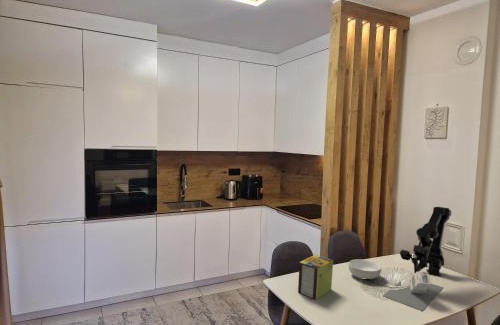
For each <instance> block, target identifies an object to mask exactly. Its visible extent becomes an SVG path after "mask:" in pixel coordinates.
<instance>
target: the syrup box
mask: <svg viewBox="0 0 500 325" xmlns="http://www.w3.org/2000/svg"><path fill="white" fill-rule="evenodd" d="M411 277H412V279H411V280H410V282H409V283H410V291H411V293H418V294H423V293H424V292H425V290H426V289H427V288H428V287H429V286H430V285H431V284H432V283H431V277H430V274H429V273H428V272H427V271H426V272H425V271H419V272H416V273H414V275H413V276H411Z"/></svg>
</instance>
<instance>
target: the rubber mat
mask: <svg viewBox="0 0 500 325" xmlns="http://www.w3.org/2000/svg"><path fill="white" fill-rule="evenodd" d="M394 286H401V282H400V281H399V282H398V283H397V284H395V285H394ZM443 288H444V287H443V286H440V285H437V284H435V283H431V285H430V286H429V287H428V288H427V289H426V290H425V292H424V293H423V294H418V293H411V291H410V286H409V287H407V288H404V289H399V290H390V289H389V290H388V291H387V292H385V293H384V294H383V295H382V297H383V298H386V299H389V300H392V301H394V302H396V303H400V304H403V305H405V306H407V307H410V308H413V309H415V310H418V311H421V312H424V311H425V309H426V308H427V307H428V306H429V305H430V303H431V302H432V301H433V300H434V299H435V298H436V296H438V294H439V293H440V292H441V291H442V289H443Z"/></svg>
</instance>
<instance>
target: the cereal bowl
mask: <svg viewBox="0 0 500 325" xmlns="http://www.w3.org/2000/svg"><path fill="white" fill-rule="evenodd" d="M348 270H349V272H350V273H351V274H352V275H353V276H355V277H356V278H358V279H360V280H363V279H362V278H366V279H370V280H374V279H376V278H378V277H380V275H381V272H382V268H381V265H380V264H378V263H376V262H374V261H371V260H367V259H357V258H356V259H351V260H350V261H348ZM363 281H364V280H363Z"/></svg>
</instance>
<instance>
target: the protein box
mask: <svg viewBox="0 0 500 325" xmlns="http://www.w3.org/2000/svg"><path fill="white" fill-rule="evenodd" d="M298 266H299V267H298V268H299V270H298V288H297V293H299V294H301V295H304V296H306V297H308V298H310V299H313V300H314V301H315V300H316V301H317V299H319V298H321V297H322V296H325V294H327V293H329V292H330V291H331V290H332V284H333V283H332V282H333V270H334V259H331V258H328V257H324V256H322V255H318V254H314V255H312V256H310V257H306V258H305V259H304V260H301V261H299V265H298Z"/></svg>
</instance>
